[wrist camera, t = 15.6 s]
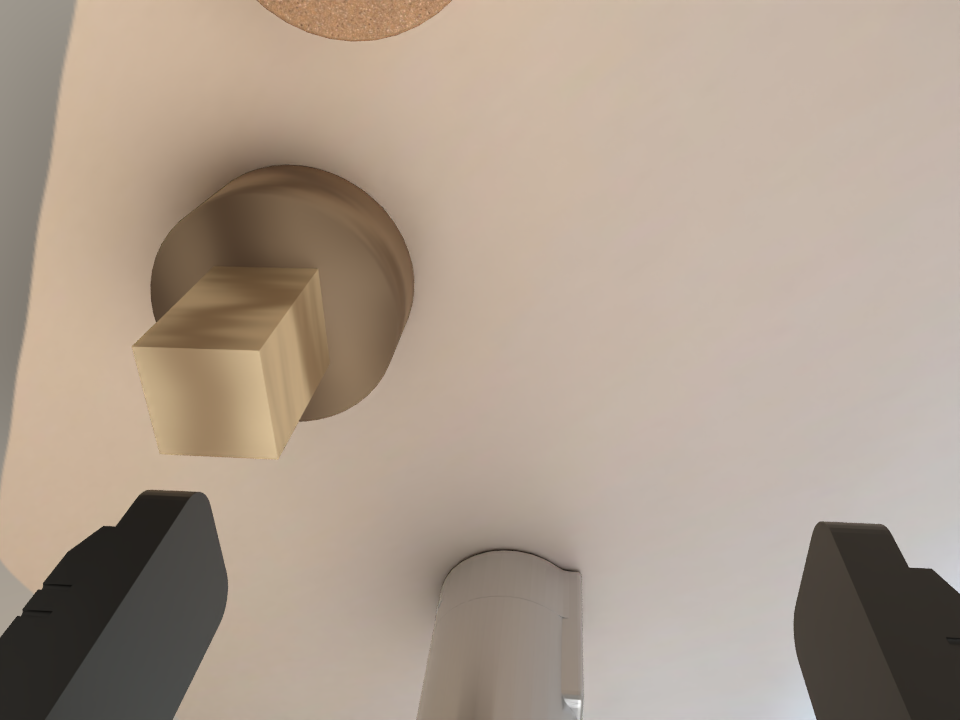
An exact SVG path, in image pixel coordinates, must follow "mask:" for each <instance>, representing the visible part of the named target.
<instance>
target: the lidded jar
mask: <svg viewBox="0 0 960 720" xmlns="http://www.w3.org/2000/svg"><path fill="white" fill-rule="evenodd" d="M257 1H258V2H259V3H260V4H261V5H263V6H264V7H265V8H266V9H267V10H269V11H270V12H272V13H273V14H275V15H276V16H278V17H279V18H281V19H282V20H284V21H285V22H287V23H289V24H291V25H293V26H295V27H298V28H300V29H302V30H304V31H306V32H308V33H312V34H315V35H319V36H322V37H326V38H329V39H336V40H345V41H370V40H378V39H382V38H387V37H391V36H395V35H398V34H400V33H403V32H405V31H408V30H410V29H412V28H415V27H417V26H419V25H420V24H422V23H423V22H425V21H427V20H428V19H430V18H431V17H433V16H434V15H436V14H437V13H439V12H440V11H441V10H442V9H443V8H444V7H445V6H446V5H448V4H449V3H450V2H451V1H452V0H257Z"/></svg>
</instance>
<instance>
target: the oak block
mask: <svg viewBox="0 0 960 720" xmlns="http://www.w3.org/2000/svg"><path fill="white" fill-rule="evenodd" d="M132 349H133V353H134V357H135V361H136V365H137V369H138V372H139V376H140V380H141V384H142V388H143V392H144V395H145V399H146V403H147V407H148V411H149V415H150V418H151V422H152V426H153V430H154V434H155V438H156V441H157V445H158V449H159V453H160V454H169V455H190V456H212V457H233V458H255V459H277V460H278V459H279V457H280V455H281V453H282V451H283V449H284V448H285V446H286V444H287V442H288V440H289V438H290V437H291V435H292V433H293V431H294V429H295V427H296V425H297V424H298V422H299V420H300V418H301V416H302V414H303V412H304V411H305V409H306V407H307V405H308V403H309V401H310V399H311V398H312V396H313V394H314V392H315V390H316V388H317V386H318V385H319V383H320V381H321V379H322V377H323V375H324V373H325V372H326V370H327V368H328V366H329V364H330V359H329V351H328V343H327V335H326V327H325V319H324V311H323V303H322V295H321V287H320V279H319V271H318V269H310V268H267V267H223V266H214V267H213V268H212V269H211V270H210V271H209V272H208V273H207V274H206V275H205V276H203V277H202V278H201V279H200V280H199V281H198V282H197V283H196V284H195V285H194V286H193V287H192V288H191V289H190V290H189V291H188V292H187V293H186V294H185V295H184V296H183V297H182V298H181V299H180V300H179V301H178V302H177V303H176V304H175V305H174V306H173V307H172V308H171V309H170V310H169V311H168V312H167V313H166V314H165V315H164V316H163V317H162V318H161V319H159V320H158V321H157V322H156V323H155V324H154V325H153V326H152V327H151V328H150V329H149V330H148V331H147V332H146V333H145V334H144V335H143V336H142V337H141V338H140V339H139V340H138V341H137V342H136V343H135V344H134V345H133V346H132Z"/></svg>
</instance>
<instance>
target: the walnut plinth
mask: <svg viewBox="0 0 960 720" xmlns="http://www.w3.org/2000/svg"><path fill="white" fill-rule="evenodd" d="M214 266H223V267H267V268H310V269H318V271H319V279H320V287H321V295H322V303H323V311H324V319H325V327H326V335H327V343H328V351H329V359H330V364H329V366H328V368H327V370H326V372H325V373H324V375H323V377H322V379H321V381H320V383H319V385H318V386H317V388H316V390H315V392H314V394H313V396H312V398H311V399H310V401H309V403H308V405H307V407H306V409H305V411H304V412H303V414H302V416H301V418H300V420H299V422H302V421H312V420H319V419H323V418H326V417H330V416H333V415H336V414H338V413H341V412H343V411H346V410H347V409H349V408H351V407H352V406H354V405H356V404H357V403H359V402H360V401H361V400H362V399H364V398H365V397H366V396H368V394H369V393H370V392H371V391H372V390H373V389H374V388H375V387H376V386H377V385H378V383H379V382H380V380H381V379H382V377H383V376H384V374H385V372H386V370H387V368H388V366H389V364H390V361H391V359H392V357H393V354H394V352H395V349H396V347H397V344H398V342H399V339H400V337H401V334H402V332H403V329H404V327H405V324H406V322H407V320H408V317H409V314H410V310H411V307H412V302H413V296H414V274H413V267H412V262H411V259H410V255H409V251H408V249H407V246H406V244H405V242H404V239H403V237H402V235H401V234H400V232H399V230H398V228H397V227H396V225H395V223H394V222H393V221H392V219H391V218H390V217H389V215H388V214H387V213H386V211H385V210H384V209H383V208H382V207H381V206H380V205H379V204H378V203H377V202H376V201H375V200H374V199H373V198H371V197H370V196H369V195H368V194H367V193H365V192H364V191H363V190H361V189H360V188H358V187H357V186H355V185H354V184H352V183H350V182H349V181H347V180H345V179H343V178H341V177H339V176H337V175H334V174H332V173H329V172H326V171H323V170H320V169H316V168H311V167H306V166H296V165H278V166H269V167H265V168H260V169H256V170H254V171H251V172H248V173H245V174H243V175H241V176H240V177H238V178H236V179H234V180H232V181H231V182H230V183H228V184H227V185H226V186H224V187H223V188H222V189H221V190H219V191H218V192H217V193H215V194H214V195H213V196H212V197H210V198H209V199H208V200H206V201H205V202H204V203H202V204H201V205H200V206H199V207H197V208H196V209H195V210H193V211H192V212H191V213H190V214H188V215H187V216H186V217H184V218H183V219H182V220H181V221H179V222H178V224H177V225H176V226H175V227H174V228H173V229H172V230H171V231H170V232H169V234H168V235H167V237H166V238H165V240H164V241H163V243H162V244H161V247H160V249H159V251H158V253H157V255H156V258H155V262H154V266H153V269H152V276H151V302H152V308H153V313H154V317H155V320H156V322H157V321H158V320H159V319H161V318H162V317H163V316H164V315H165V314H166V313H167V312H168V311H169V310H170V309H171V308H172V307H173V306H174V305H175V304H176V303H177V302H178V301H179V300H180V299H181V298H182V297H183V296H184V295H185V294H186V293H187V292H188V291H189V290H190V289H191V288H192V287H193V286H194V285H195V284H196V283H197V282H198V281H199V280H200V279H201V278H202V277H203V276H205V275H206V274H207V273H208V272H209V271H210V270H211V269H212V268H213V267H214Z"/></svg>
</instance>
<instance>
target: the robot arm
mask: <svg viewBox="0 0 960 720" xmlns="http://www.w3.org/2000/svg"><path fill="white" fill-rule="evenodd" d="M227 594H228V579H227V572H226V568H225V564H224V560H223V556H222V551H221V547H220V543H219V539H218V535H217V531H216V526H215V522H214V518H213V514H212V510H211V506H210V502H209V500H208V498H207V497H206V495H205V494H203V493H201V492H186V491H163V490H146V491H144V492H143V493H141V494H140V495H139V496H138V497H137V499H136V500H135V501H134V503H133V504H132V505H131V507H130V508H129V509H128V511H127V512H126V513H125V515H124V516H123V517H122V519H121V520H120V522H119V523H118V524H117V526H116V527H112V526H103V527H101V528H100V529H99V530H97V531H96V532H95V533H93V534H92V535H90V536H89V537H88V538H86V539H85V540H84V541H82V542H81V543H79V544H78V545H77V546H75V547H74V548H73V549H71V550H70V551H68V552H67V554H66V555H65V556H64V557H63V559H62V560H61V561H60V562H59V564H58V565H57V566H56V567H55V569H54V570H53V571H52V573H51V574H50V575H49V576H48V578H47V579H46V580H45V581H44V583H43V588H42V590H37V592H36V593H35V594H34V595H33V597H32V598H31V599H30V600H29V602H28V603H27V604H26V606H25V607H24V608H23V613H22V615H21V616H17V617H16V618H15V619H14V621H13V622H12V623H11V625H10V626H9V627H8V628H7V630H6V631H5V632H4V633H3V635H2V636H1V637H0V720H173V718H174V716H175V714H176V712H177V710H178V708H179V706H180V703H181V701H182V699H183V697H184V695H185V693H186V691H187V689H188V687H189V685H190V683H191V681H192V679H193V677H194V675H195V673H196V671H197V669H198V667H199V665H200V663H201V661H202V659H203V657H204V655H205V653H206V651H207V649H208V647H209V645H210V643H211V641H212V639H213V637H214V635H215V633H216V630H217V628H218V626H219V624H220V622H221V620H222V617H223V614H224V611H225V607H226V602H227ZM794 640H795V647H796V653H797V657H798V661H799V664H800V668H801V671H802V674H803V677H804V680H805V684H806V687H807V690H808V693H809V697H810V700H811V703H812V706H813V709H814V713H815V716H816V719H817V720H960V594H959V593H958V592H957V591H956V590H955V589H954V588H953V587H951V586H950V585H949V584H948V583H947V582H946V581H945V580H944V579H942V578H941V577H940V576H939V575H938V574H937V573H936V572H935V571H934V570H932V569H925V568H909V567H908V565H907V563H906V561H905V559H904V557H903V555H902V553H901V551H900V549H899V548H898V546H897V544H896V542H895V540H894V538H893V536H892V534H891V533H890V531H889V530H888V529H887V527H885V526H884V525H882V524H866V523H844V522H819V523H817V525H816V526H815V528H814V530H813V534H812V537H811V542H810V546H809V550H808V554H807V559H806V563H805V567H804V572H803V576H802V580H801V584H800V589H799V593H798V597H797V601H796V606H795V612H794ZM583 705H584V681H583V625H582V576H581V574H580V573H579V572H569V571H564V570H562V569H560V568H558V567H556V566H555V565H553V564H552V563H550V562H549V561H547V560H545V559H542V558H540V557H537V556H535V555H532V554H527V553H523V552H518V551H503V550H502V551H492V552H486V553H482V554H479V555H475V556H473V557H471V558H469V559H467V560H465V561H463V562H461V563H460V564H459V565H457V566H456V567H455V568H454V569H452V571H451V572H450V573H449V575H448V576H447V577H446V579H445V581H444V584H443V586H442V589H441V594H440V599H439V603H438V606H437V611H436V617H435V625H434V630H433V635H432V640H431V646H430V651H429V656H428V661H427V667H426V672H425V677H424V682H423V688H422V693H421V698H420V703H419V709H418V714H417V719H416V720H583Z"/></svg>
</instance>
